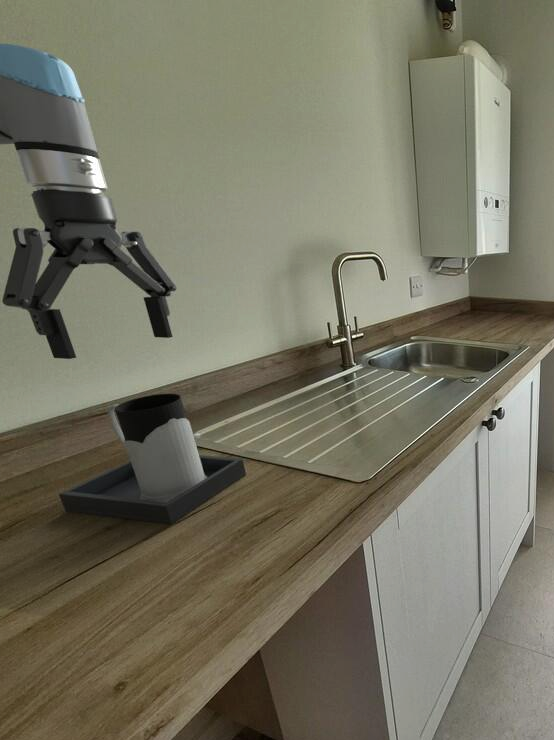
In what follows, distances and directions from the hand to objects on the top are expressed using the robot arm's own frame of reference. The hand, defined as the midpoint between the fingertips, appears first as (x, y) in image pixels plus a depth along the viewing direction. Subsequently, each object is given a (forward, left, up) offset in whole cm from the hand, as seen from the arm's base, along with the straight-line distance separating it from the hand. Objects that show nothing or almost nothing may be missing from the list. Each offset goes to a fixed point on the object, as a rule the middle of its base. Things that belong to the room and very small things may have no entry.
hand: (119, 346), depth 61 cm
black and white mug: (+3, -2, -23) cm, 23 cm away
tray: (+3, -3, -23) cm, 24 cm away
